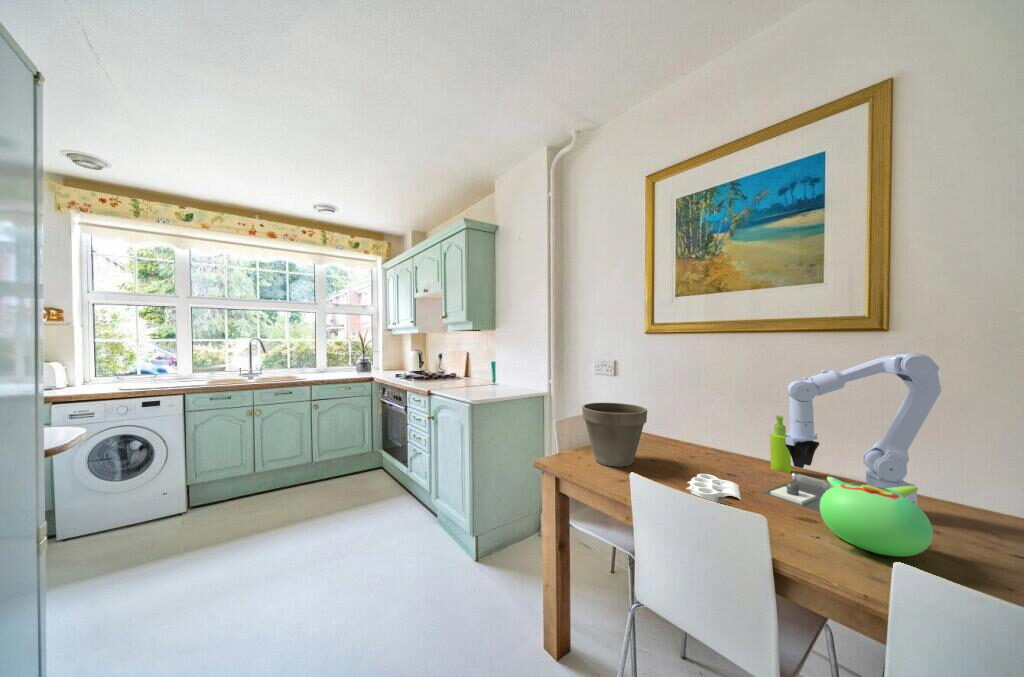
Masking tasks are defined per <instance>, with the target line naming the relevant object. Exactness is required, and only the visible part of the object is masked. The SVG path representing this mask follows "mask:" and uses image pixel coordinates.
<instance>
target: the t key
mask: <svg viewBox="0 0 1024 677" xmlns="http://www.w3.org/2000/svg"><path fill="white" fill-rule="evenodd" d="M791 481H798V482H802V483H805V484H809V485H812V486H816V487H820V488H823V490H824V492H826V491H827V490H828V489H830V488H832V486H831V484H830V483H829V482H828V480H823V479H819V478H816V477H812V476H808V475H805V474H801V473H797V472H791Z"/></svg>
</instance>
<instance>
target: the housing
mask: <svg viewBox="0 0 1024 677" xmlns="http://www.w3.org/2000/svg"><path fill="white" fill-rule="evenodd" d="M787 483H795V484H798V485H799V491H802V492H805V493H808V494H812V495H815V496H816V499H814V500H811V501H809V502H807V503H804V504H799V503H796V502H793V501H790V500H787V499H784V498H781V497H777V496H774V495H771V494H770V491H773V490H776V489H779V488H781V487H784V486H785V487H787ZM761 493H762V494H764V495H767V496H770V497H774V498H777V499H780V500H782V501H785V502H787V503H788V502H789V503H791V504H795V505H798V506H800V507H804V508H807V509H810V510H813V511H815V512H820V500H821V497H822V495H823V494H824V493H825V492H824V490H823V488H820V487H816V486H812V485H809V484H805V483H802V482H798V481H794V480H791V481H789V482H786V483H783V484H782V485H779V486H776V487H775V486H774V487H772V488H770V489H767V490H764V491H761Z"/></svg>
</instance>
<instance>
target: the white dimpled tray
mask: <svg viewBox="0 0 1024 677" xmlns="http://www.w3.org/2000/svg"><path fill="white" fill-rule="evenodd" d="M686 483H687V484H689V486H688V487H685V489H686V490H688V492H690V494H691V495H692V494H695V495H697V496H700V497H703V498H706V499H709V500H712V501H716V502H719V503H725V504H728V505H734V506H735V505H736V504H734V503H732V502H729V501H727V500H724V499H722V498H725V497H728V496H730V497H734V498H737V499H739V500H740V501H742V498H741V492H740V486H739V485H738V484H737V483H735V482H733V481H731V480H727V479H726V480H725V479H721V478H718V477H717V476H715V475H712V474H708V473H698V474H696V476H694V477H692V478H691V479H690V481H687V482H686Z"/></svg>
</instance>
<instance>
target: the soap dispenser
mask: <svg viewBox="0 0 1024 677" xmlns="http://www.w3.org/2000/svg"><path fill="white" fill-rule="evenodd" d="M775 418H776V424H774V426H773V433H770V434H769V442H770V443H769V444H770V445H769V446H770V469H771V470H773V471H777V472H781V473H785V474H788V475H792V457H791V454H790V452H789V450H788V449H787V447H786V446H785V442H786V438H787V437H788V436H787V435H786V433H787V431H786V428H787V427H786V425H785V424H783V421H784V416H783V415H779V414H776V415H775Z"/></svg>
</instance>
